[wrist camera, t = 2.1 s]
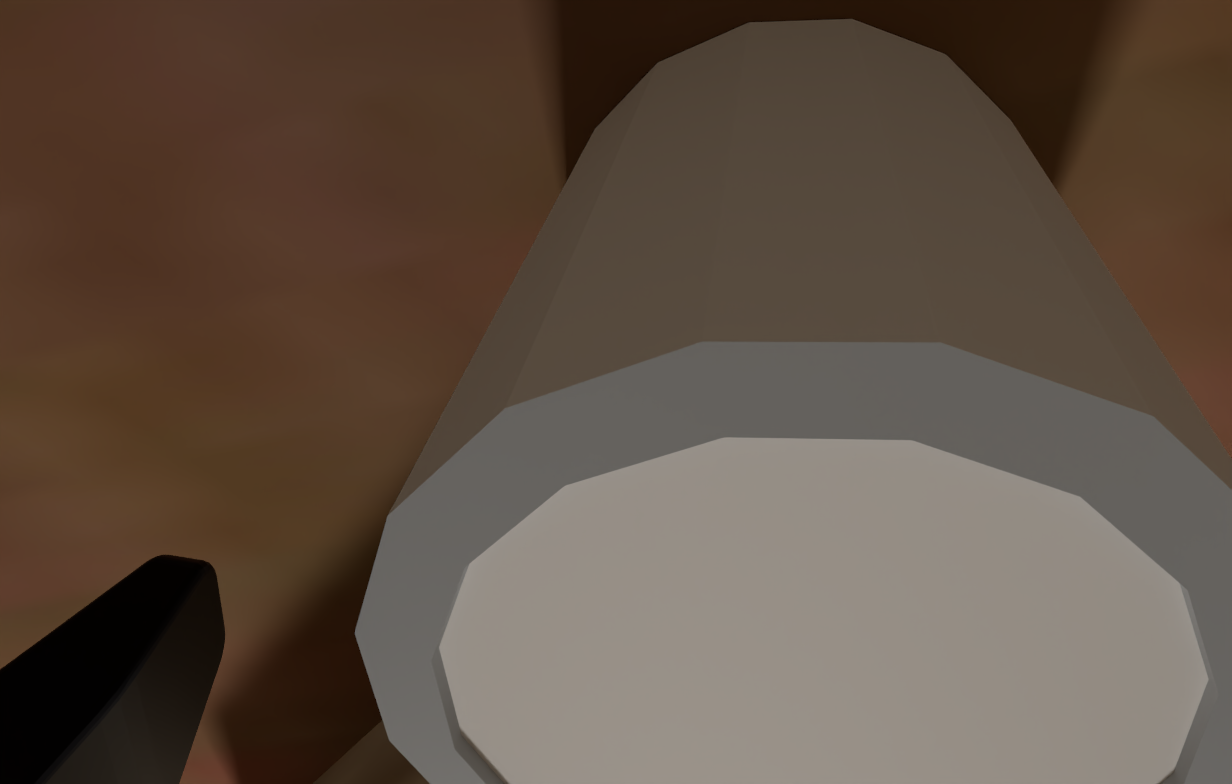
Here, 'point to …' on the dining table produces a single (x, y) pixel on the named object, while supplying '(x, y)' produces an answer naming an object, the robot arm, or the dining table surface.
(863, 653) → the white cup
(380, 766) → the birch block
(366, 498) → the dining table surface
